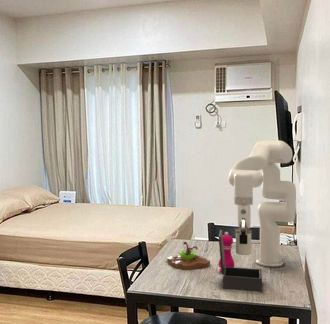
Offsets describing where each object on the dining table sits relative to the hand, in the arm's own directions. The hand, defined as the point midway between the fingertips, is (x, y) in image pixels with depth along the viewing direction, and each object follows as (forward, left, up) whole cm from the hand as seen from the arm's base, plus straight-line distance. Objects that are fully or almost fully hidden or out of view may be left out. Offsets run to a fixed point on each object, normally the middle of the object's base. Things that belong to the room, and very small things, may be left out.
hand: (243, 241), depth 208 cm
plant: (+9, -40, -20) cm, 45 cm away
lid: (+8, -4, -5) cm, 10 cm away
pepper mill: (-2, -20, -20) cm, 28 cm away
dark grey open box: (+1, 0, -20) cm, 20 cm away
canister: (0, 0, -5) cm, 5 cm away
